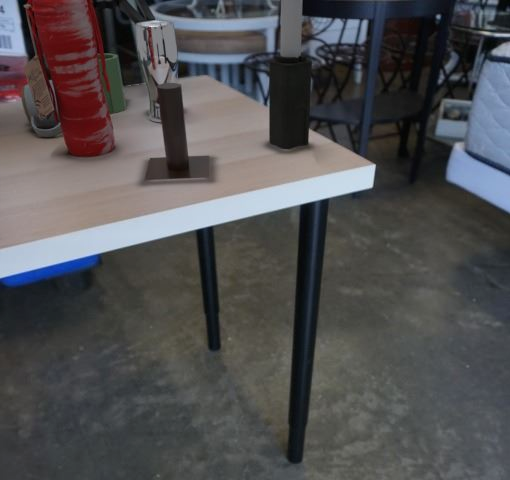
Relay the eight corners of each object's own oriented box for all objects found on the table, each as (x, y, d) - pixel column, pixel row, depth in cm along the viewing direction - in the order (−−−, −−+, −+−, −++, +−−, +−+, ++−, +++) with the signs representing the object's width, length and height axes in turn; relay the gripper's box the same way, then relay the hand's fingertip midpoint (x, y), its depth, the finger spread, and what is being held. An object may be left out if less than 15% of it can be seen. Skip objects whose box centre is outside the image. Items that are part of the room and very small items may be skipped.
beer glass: (168, 125, 97) (157, 27, 87) (139, 120, 100) (125, 25, 90) (191, 115, 102) (182, 21, 92) (163, 111, 104) (151, 19, 94)
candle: (284, 159, 82) (288, -48, 66) (266, 151, 86) (265, -49, 69) (311, 153, 84) (320, -50, 68) (291, 144, 88) (296, -51, 71)
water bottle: (41, 171, 81) (-19, -39, 64) (49, 153, 87) (-4, -42, 70) (121, 165, 82) (83, -42, 65) (123, 148, 88) (89, -46, 71)
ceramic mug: (36, 121, 100) (23, 76, 95) (80, 119, 101) (70, 73, 96) (26, 140, 93) (11, 91, 87) (73, 137, 93) (62, 88, 88)
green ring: (88, 114, 104) (77, 61, 98) (94, 105, 109) (84, 54, 103) (123, 112, 104) (114, 60, 98) (127, 103, 109) (119, 52, 103)
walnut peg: (145, 190, 74) (130, 95, 66) (151, 167, 81) (138, 79, 73) (210, 188, 75) (202, 92, 67) (210, 165, 81) (203, 76, 73)
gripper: (167, -25, 114) (171, 70, 112) (49, -21, 113) (52, 75, 112) (161, -56, 106) (166, 46, 105) (35, -52, 106) (39, 50, 104)
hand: (107, 61), depth 108 cm, fingers open, 13 cm apart
